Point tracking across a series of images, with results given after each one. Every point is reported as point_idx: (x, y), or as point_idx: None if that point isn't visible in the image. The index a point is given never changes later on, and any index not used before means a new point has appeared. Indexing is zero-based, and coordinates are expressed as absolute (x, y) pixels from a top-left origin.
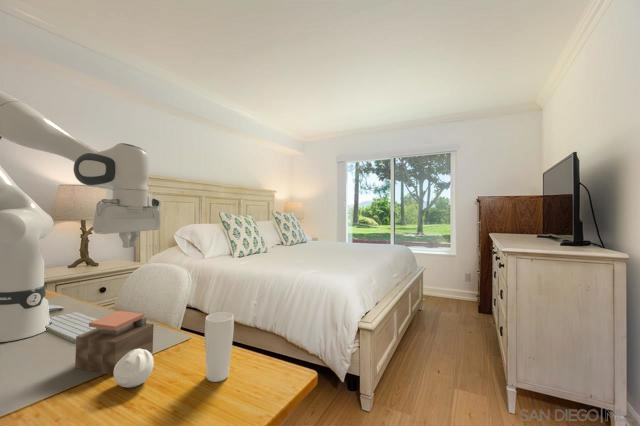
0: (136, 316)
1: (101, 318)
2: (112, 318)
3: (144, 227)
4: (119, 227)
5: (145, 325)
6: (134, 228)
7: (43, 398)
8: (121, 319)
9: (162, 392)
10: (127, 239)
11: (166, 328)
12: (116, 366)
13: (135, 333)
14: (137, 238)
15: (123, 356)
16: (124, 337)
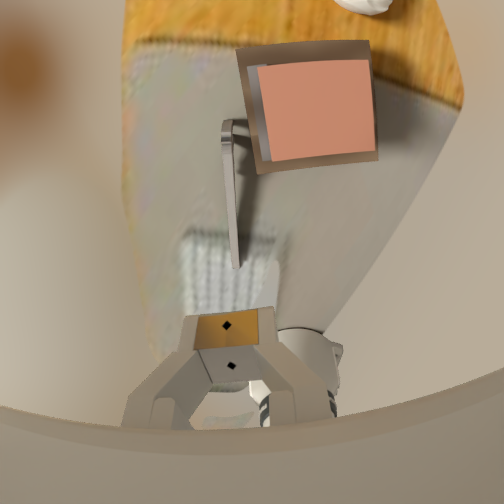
0: (285, 67)
1: (341, 149)
2: (328, 120)
3: (63, 452)
4: (478, 436)
5: (254, 61)
6: (218, 465)
7: (428, 98)
8: (323, 88)
9: None
10: (287, 359)
11: (127, 145)
12: (389, 2)
13: (307, 41)
14: (159, 368)
15: (371, 6)
16: (340, 44)
